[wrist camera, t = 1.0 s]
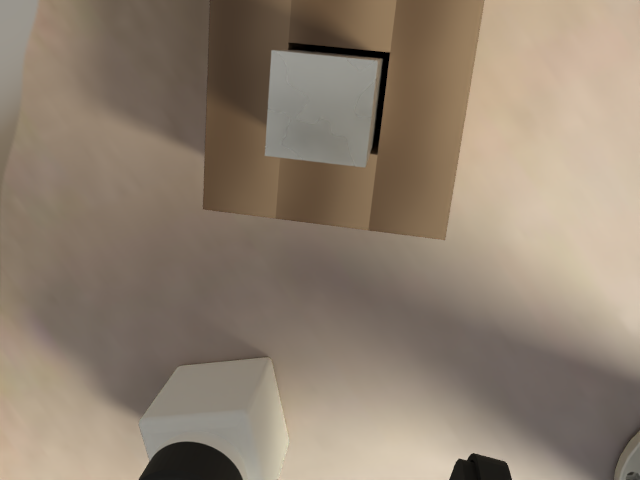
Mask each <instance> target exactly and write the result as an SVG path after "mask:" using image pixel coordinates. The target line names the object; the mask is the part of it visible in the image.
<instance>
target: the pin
mask: <svg viewBox="0 0 640 480" xmlns="http://www.w3.org/2000/svg"><path fill="white" fill-rule="evenodd" d="M384 59H385V58H381V57H371V56H361V55H351V54H341V53H331V52H321V51H311V50H272V51H271V66H270V82H269V97H268V113H267V128H266V144H265V156H271V157H279V158H288V159H296V160H305V161H313V162H322V163H331V164H339V165H348V166H356V167H366V164H367V161H368V158H369V155H370V152H371V149H372V146H373V143H374V140H375V134H376V126H377V117H378V109H379V101H380V92H381V84H382V76H383V68H384Z"/></svg>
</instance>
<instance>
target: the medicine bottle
mask: <svg viewBox="0 0 640 480" xmlns="http://www.w3.org/2000/svg"><path fill="white" fill-rule="evenodd" d="M139 427H140V430H141V434H142V437H143V441H144V444H145V447H146V451H147V454H148V458H149V461H150V462H149V463H148V465H147V467H146V468H145V470H144V472H143V473H142V475H141V476H140V478H139V480H278V479H279V476H280V472H281V469H282V465H283V462H284V458H285V455H286V452H287V448H288V445H289V437H288V432H287V428H286V423H285V419H284V414H283V410H282V405H281V400H280V396H279V391H278V387H277V382H276V378H275V373H274V368H273V364H272V360H271V359H270V358H269V357H264V358H253V359H243V360H233V361H223V362H213V363H203V364H192V365H182V366H179V367H177V369H176V370H175V371H174V373H173V374H172V376H171V377H170V378H169V380H168V381H167V383H166V384H165V385H164V387H163V388H162V390H161V391H160V392H159V394H158V395H157V397H156V398H155V399H154V401H153V402H152V404H151V405H150V406H149V408H148V409H147V411H146V412H145V413H144V415H143V416H142V418H141V419H140V421H139Z"/></svg>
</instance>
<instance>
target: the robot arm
mask: <svg viewBox="0 0 640 480" xmlns="http://www.w3.org/2000/svg"><path fill="white" fill-rule="evenodd" d="M449 480H512V478H511V475H510V471H509V467H508V465H507V463H506V462H504V461H501V460H497V459H493V458H490V457H486V456H482V455H478V454H475V453H473V454H471V455H470V456H469V458H468V460H463V459H458V460H457V462H456V464H455V466H454V469H453V471H452V474H451V477H450V479H449ZM614 480H640V431H639V432H638V433H637V434H636V435H635V436H634V437H633V438H632V439H631V440H630V441H629V443H628V444H627V446H626V447H625V449H624V451H623V452H622V454H621V455H620V458H619V461H618V464H617V466H616V469H615V476H614Z"/></svg>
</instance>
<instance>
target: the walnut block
mask: <svg viewBox="0 0 640 480" xmlns="http://www.w3.org/2000/svg"><path fill="white" fill-rule="evenodd" d="M483 6H484V0H210V18H209V48H208V77H207V107H206V136H205V166H204V195H203V209H205V210H213V211H221V212H229V213H236V214H244V215H252V216H260V217H268V218H276V219H284V220H292V221H299V222H307V223H315V224H323V225H331V226H339V227H347V228H355V229H362V230H370V231H378V232H386V233H394V234H402V235H410V236H418V237H425V238H433V239H441V240H445V237H446V231H447V225H448V219H449V212H450V206H451V200H452V194H453V188H454V182H455V176H456V170H457V164H458V158H459V152H460V146H461V140H462V133H463V127H464V121H465V115H466V109H467V103H468V97H469V91H470V85H471V79H472V73H473V67H474V61H475V54H476V48H477V42H478V36H479V30H480V24H481V18H482V12H483ZM316 45H320V46H330V47H340V48H351V49H361V50H371V51H381V52H390V58H389V66H388V74H387V82H386V90H385V98H384V107H383V115H382V123H381V130H376V134H375V140H374V143H373V146H372V149H371V152H370V155H369V158H368V161H367V164H366V167H356V166H348V165H339V164H331V163H322V162H313V161H305V160H296V159H288V158H279V157H271V156H265V144H266V128H267V113H268V97H269V82H270V66H271V51H272V50H311V51H315V49H316Z"/></svg>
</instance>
